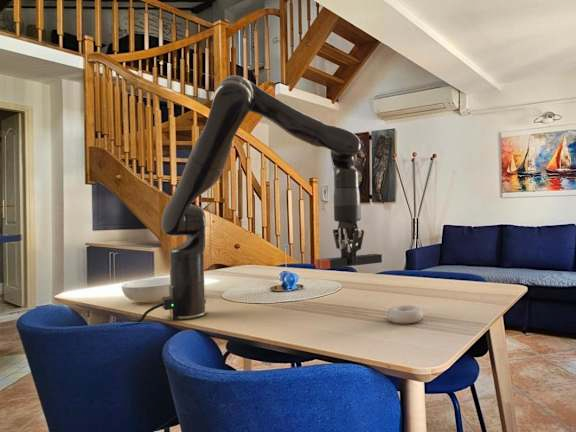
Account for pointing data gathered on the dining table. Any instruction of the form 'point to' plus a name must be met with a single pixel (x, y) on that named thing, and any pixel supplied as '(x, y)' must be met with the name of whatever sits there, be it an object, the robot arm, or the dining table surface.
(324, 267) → the dark rod red tip
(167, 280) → the serving bowl
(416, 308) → the donut
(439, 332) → the dining table surface
